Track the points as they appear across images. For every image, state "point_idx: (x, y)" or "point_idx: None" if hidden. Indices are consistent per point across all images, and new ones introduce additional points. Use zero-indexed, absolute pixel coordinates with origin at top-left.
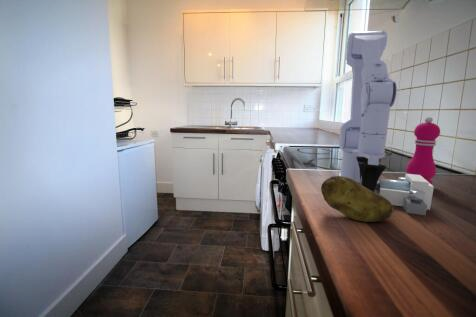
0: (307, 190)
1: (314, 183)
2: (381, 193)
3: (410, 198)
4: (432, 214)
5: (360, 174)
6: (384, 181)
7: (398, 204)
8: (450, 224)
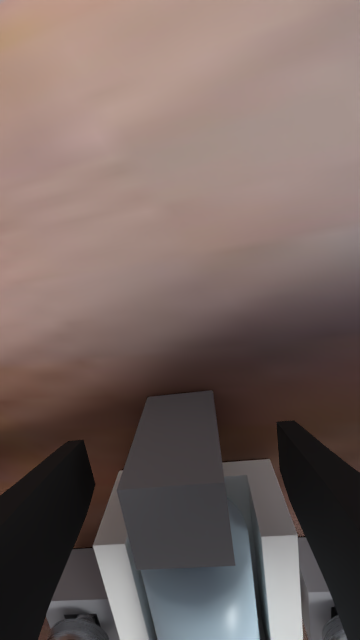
0: (97, 48)
1: (344, 33)
2: (103, 524)
3: (54, 632)
4: None
5: (309, 470)
6: (160, 611)
7: None
8: (43, 633)
